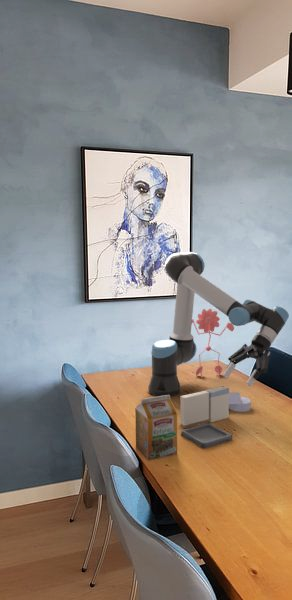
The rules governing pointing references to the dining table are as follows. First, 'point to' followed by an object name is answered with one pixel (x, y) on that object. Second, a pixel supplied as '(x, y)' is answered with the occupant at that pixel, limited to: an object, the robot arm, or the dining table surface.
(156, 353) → the robot arm
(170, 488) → the dining table surface
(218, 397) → the stub
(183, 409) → the cream square slab
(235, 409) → the wedge on round base
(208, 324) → the figurine
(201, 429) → the tray
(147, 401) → the milk carton
